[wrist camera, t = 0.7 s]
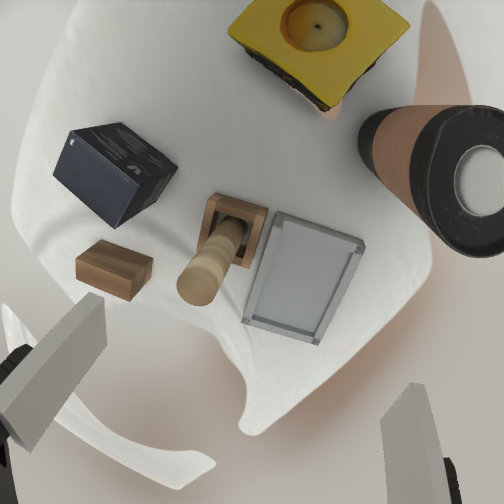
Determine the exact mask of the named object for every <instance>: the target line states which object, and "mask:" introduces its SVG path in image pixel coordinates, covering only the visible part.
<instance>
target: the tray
mask: <svg viewBox="0 0 504 504" xmlns="http://www.w3.org/2000/svg"><path fill="white" fill-rule="evenodd" d="M365 248H366V247H365V244H364V242H363V240H360V239H357V238H354V237H351V236H349V235H346V234H343V233H340V232H337V231H334V230H331V229H328V228H325V227H322V226H319V225H316V224H313V223H310V222H307V221H304V220H301V219H298V218H295V217H292V216H289V215H286V214H283V213H280V212H277V214H276V217H275V220H274V223H273V226H272V229H271V233H270V236H269V239H268V242H267V245H266V248H265V251H264V254H263V257H262V260H261V263H260V267H259V270H258V273H257V276H256V279H255V282H254V285H253V288H252V291H251V294H250V297H249V300H248V303H247V306H246V309H245V312H244V315H243V319H242V322H241V323H244V324H247V325H250V326H254V327H257V328H260V329H263V330H266V331H270V332H273V333H276V334H280V335H283V336H286V337H290V338H293V339H297V340H300V341H304V342H307V343H311V344H314V345H319V343H320V341H321V339H322V337H323V335H324V334H325V332H326V330H327V328H328V326H329V324H330V322H331V320H332V318H333V316H334V314H335V312H336V310H337V308H338V306H339V304H340V302H341V300H342V298H343V296H344V294H345V292H346V290H347V288H348V285H349V283H350V281H351V279H352V277H353V275H354V273H355V271H356V268H357V266H358V264H359V262H360V260H361V257H362V255H363V253H364V251H365Z"/></svg>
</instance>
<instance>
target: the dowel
mask: <svg viewBox="0 0 504 504" xmlns="http://www.w3.org/2000/svg"><path fill="white" fill-rule="evenodd" d="M247 230H248V222H247V220H244V219H240V218H237V217H234V216H231V215H228V214H227V215H226V216H225V217H224V218H223V219H222V221H221V222H220V223H219V225H218V226H217V227H216V228H215V230H214V231H213V232H212V234H211V235H210V236H209V238H208V239H207V240H206V242H205V243H204V244H203V245H202V247H201V248H200V249H199V251H198V252H197V253H196V255H195V256H194V257H193V259H192V260H191V261H190V263H189V264H188V265H187V267H186V268H185V269H184V271H183V272H182V274H181V275H180V276H179V278H178V280H177V290H178V293H179V295H180V296H181V297H182V299H183V300H185V301H186V302H187V303H189V304H191V305H194V306H205V305H208V304H209V303H211V302H212V301H213V299H214V297H215V295H216V293H217V291H218V289H219V287H220V285H221V283H222V281H223V279H224V277H225V275H226V273H227V271H228V269H229V267H230V265H231V263H232V261H233V259H234V257H235V255H236V253H237V251H238V249H239V246H240V244H241V242H242V240H243V238H244V236H245V234H246V232H247Z"/></svg>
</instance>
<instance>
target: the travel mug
mask: <svg viewBox="0 0 504 504" xmlns="http://www.w3.org/2000/svg"><path fill="white" fill-rule="evenodd" d="M358 148H359V152H360V155H361V158H362V159H363V161H364V163H365V164H366V165H367V167H368V168H369V169H370V170H371V171H372V172H373V173H374V174H375V175H376V177H377V178H378V179H379V180H380V181H381V182H382V183H383V184H384V185H385V186H386V187H387V188H388V189H389V190H390V191H391V192H392V193H393V194H394V195H395V196H396V197H398V198H399V199H400V200H401V201H402V202H403V203H404V204H405V205H406V206H407V207H408V208H409V209H411V210H412V211H413V212H414V213H415V214H416V215H417V216H418V217H419V218H420V219H421V220H422V221H423V222H424V223H425V224H426V225H427V226H428V227H429V228H430V229H431V230H432V231H433V232H434V233H435V234H436V235H437V236H438V237H439V238H440V239H441V240H442V241H443V242H445V244H446V245H448V246H449V247H450V248H452V249H453V250H455V251H456V252H458V253H460V254H462V255H465V256H468V257H473V258H488V257H493V256H496V255H499V254H501V253H503V252H504V111H502V110H500V109H497V108H494V107H491V106H484V105H417V106H405V107H399V108H394V109H388V110H384V111H380V112H377V113H375V114H373V115H372V116H370V117H369V118H368V119H367V120H366V121H365V122H364V124H363V125H362V127H361V129H360V132H359V136H358Z"/></svg>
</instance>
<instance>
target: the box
mask: <svg viewBox="0 0 504 504" xmlns="http://www.w3.org/2000/svg"><path fill="white" fill-rule="evenodd" d="M177 168H178V166H176V165H175V164H173V163H172V162H170V161H169V159H167V158H166V157H165V156H164V155H163V154H162V153H160V152H159V151H158V150H157V149H154V147H152V146H151V145H149V144H148V143H147V142H146V141H144V140H143V139H141V138H140V137H139V136H137V135H136V134H135V133H133V132H132V131H131V130H130V129H129V128H127V127H126V126H124V125H123V124H122V123H113V124H108V125H101V126H95V127H89V128H83V129H78V130H73V131H70V133H69V135H68V138H67V140H66V143H65V145H64V147H63V150H62V152H61V155H60V157H59V160H58V162H57V165H56V167H55V170H54V173H53V176H54V177H55V178H56V179H57V180H58V181H60V182H61V183H62V184H63V185H64V186H65V187H66V188H67V189H68V190H70V191H71V192H72V193H73V194H74V195H75V196H76V197H78V198H79V199H80V200H81V201H82V202H83V203H84V204H85V205H87V206H88V207H89V208H90V209H91V210H92V211H93V212H95V213H96V214H97V215H98V216H99V217H100V218H102V219H103V220H104V221H105V222H106V223H107V224H109V225H110V226H111V227H112V228H113V229H116V228H117V227H119V226H120V225H122V224H123V223H124V222H126V221H127V220H129V219H130V218H132V217H134V216H135V215H136V214H138V213H140V212H141V211H142V210H144V209H146V208H147V207H149V206H150V205H152V204H153V203H155V202H156V200H157V198H158V197H159V195H160V194H161V192H162V191H163V189H164V188H165V186H166V185H167V183H168V182H169V180H170V179H171V177H172V176H173V174H174V173H175V171H176V170H177Z"/></svg>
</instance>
